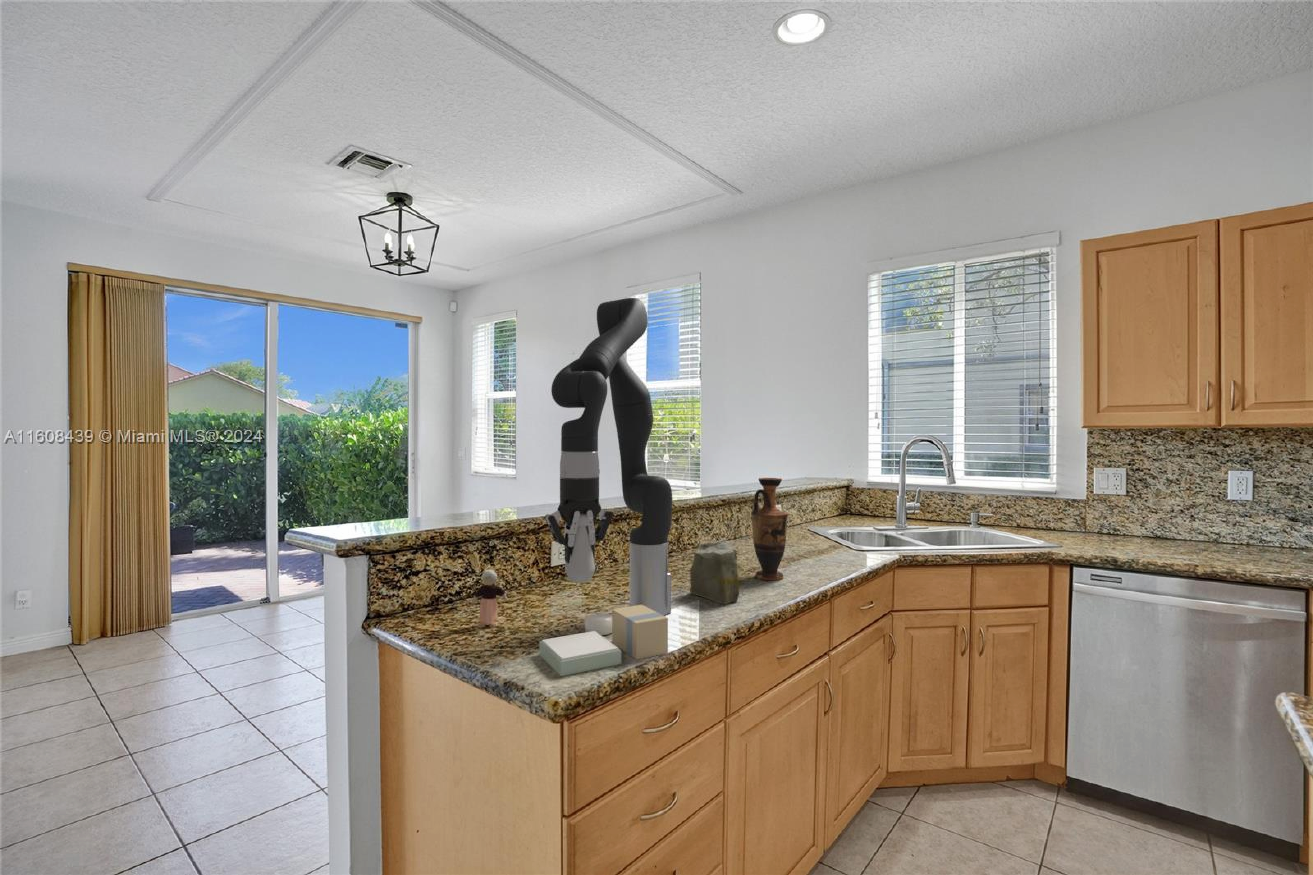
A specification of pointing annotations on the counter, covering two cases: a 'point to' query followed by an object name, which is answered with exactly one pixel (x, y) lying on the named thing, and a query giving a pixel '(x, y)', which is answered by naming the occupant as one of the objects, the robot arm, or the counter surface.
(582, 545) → the salt shaker
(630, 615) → the kraft carton
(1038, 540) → the counter surface
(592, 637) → the podium
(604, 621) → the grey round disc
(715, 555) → the stone block
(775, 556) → the vase
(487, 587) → the grandmother figurine
